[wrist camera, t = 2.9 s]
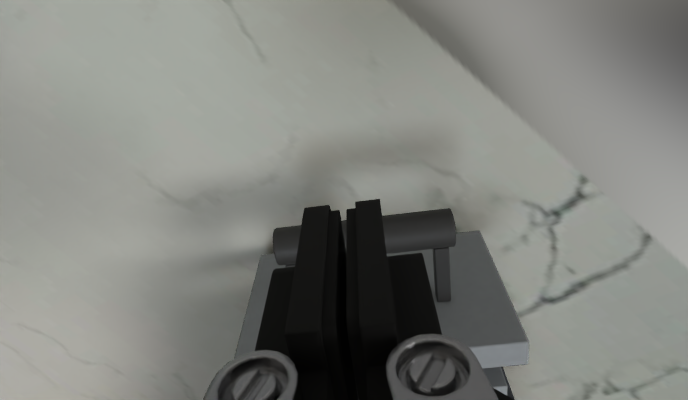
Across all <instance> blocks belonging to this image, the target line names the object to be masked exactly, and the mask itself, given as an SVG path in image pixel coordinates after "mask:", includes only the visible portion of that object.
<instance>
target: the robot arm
mask: <svg viewBox="0 0 688 400" xmlns="http://www.w3.org/2000/svg"><path fill="white" fill-rule="evenodd" d="M355 204H356V208H354V209H347V244H346V247H345V240H344V234H343V228H342V222H341V216H340V211H339V210H337V211H331V209H330V206H329V205H325V206H316V207H308V208H304V213H303V219H302V226H301V232H300V238H299V244H298V251H297V257H296V263H295V266H294V267H285V268H276V269H274V270H273V272H272V276H271V280H270V285H269V289H268V294H267V298H266V302H265V307H264V311H263V316H262V320H261V325H260V329H259V334H258V338H257V342H256V347H255V351H252V352H249V353H246V354H243V355H240V356H238V357H237V358H235V359H233V360H232V361H230V362H228V363H227V364H226V365H225V366H224V367H223V368H222V369H220V370H219V371H218V373H217V374H216V376H215V377H214V379H213V380H212V382H211V383H210V385H209V388H208V390H207V392H206V394H205V396H204V398H203V400H358V398H359V400H514V399H512V398H511V397H509V396H507V395H505V394H503V393H502V392H500V391H498V390H496V389H494V388H493V387H492V386H491V384H490V382H489V380H488V378H487V376H486V374H485V372H484V370H483V368H482V367H481V365H480V363H479V361H478V359H477V357H476V356H475V354H474V353H473V352H472V351H471V349H470V348H469V347H468V346H466V345H465V344H464V343H462V342H461V341H459V340H457V339H454V338H452V337H449V336H446V335H442V332H441V328H440V324H439V320H438V315H437V311H436V307H435V303H434V299H433V295H432V290H431V286H430V282H429V278H428V274H427V270H426V266H425V261H424V257H423V254H422V253H413V254H404V255H395V256H387V253H386V245H385V237H384V229H383V221H382V213H381V205H380V199H376V200H368V201H359V202H356V203H355Z"/></svg>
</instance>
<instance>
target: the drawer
mask: <svg viewBox="0 0 688 400" xmlns="http://www.w3.org/2000/svg"><path fill="white" fill-rule="evenodd" d="M382 221H383V229H384V237H385V245H386V253H387V256H395V255H404V254H413V253H422V254H423V257H424V261H425V266H426V270H427V274H428V278H429V282H430V286H431V290H432V295H433V299H434V303H435V307H436V311H437V315H438V320H439V324H440V328H441V332H442V335H446V336H449V337H452V338H454V339H457V340H459V341H461V342H462V343H464V344H465V345H466V346H468V347H469V348H470V349H471V351H472V352H473V353H474V354H475V356H476V357H477V359H478V361H479V363H480V365H481V367H482V368H483V370H484V372H485V374H486V376H487V378H488V380H489V382H490V384H491V386H492V387H493V388H494V389H496V390H498V391H500V392H502V393H503V394H505V395H507V388H508V386H507V383H506V380H505V377H504V375H503V372H502V369H501V367H504V366H515V365H526V364H528V356H529V340H528V338H527V336H526V334H525V331H524V329H523V327H522V325H521V322H520V320H519V318H518V316H517V313H516V311H515V309H514V307H513V304H512V302H511V300H510V298H509V295H508V293H507V291H506V289H505V286H504V284H503V282H502V280H501V277H500V275H499V273H498V271H497V268H496V266H495V264H494V262H493V259H492V257H491V255H490V253H489V250H488V248H487V246H486V244H485V241H484V239H483V237H482V235H481V232H480V231H471V232H462V233H456V230H455V222H454V217H453V214H452V211H451V209H449V208H448V209H439V210H430V211H422V212H413V213H404V214H396V215H387V216H382ZM341 222H342V228H343V234H344V240H345V247H346V244H347V220H343V221H341ZM301 226H302V225H300V226H291V227H282V228H276V229H275V230H274V233H273V250H274V253H273V254H264V255H261V257H260V261H259V265H258V268H257V272H256V276H255V280H254V284H253V288H252V291H251V295H250V299H249V303H248V307H247V311H246V314H245V318H244V322H243V326H242V330H241V334H240V338H239V341H238V345H237V349H236V353H235V357H234V359H235V358H237V357H238V356H240V355H243V354H246V353H249V352H252V351H255V347H256V342H257V338H258V334H259V329H260V325H261V320H262V316H263V311H264V307H265V302H266V298H267V294H268V289H269V285H270V280H271V276H272V272H273V270H274V269H276V268H285V267H294V266H295V263H296V257H297V251H298V244H299V238H300V232H301ZM358 400H359V398H358Z"/></svg>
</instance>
